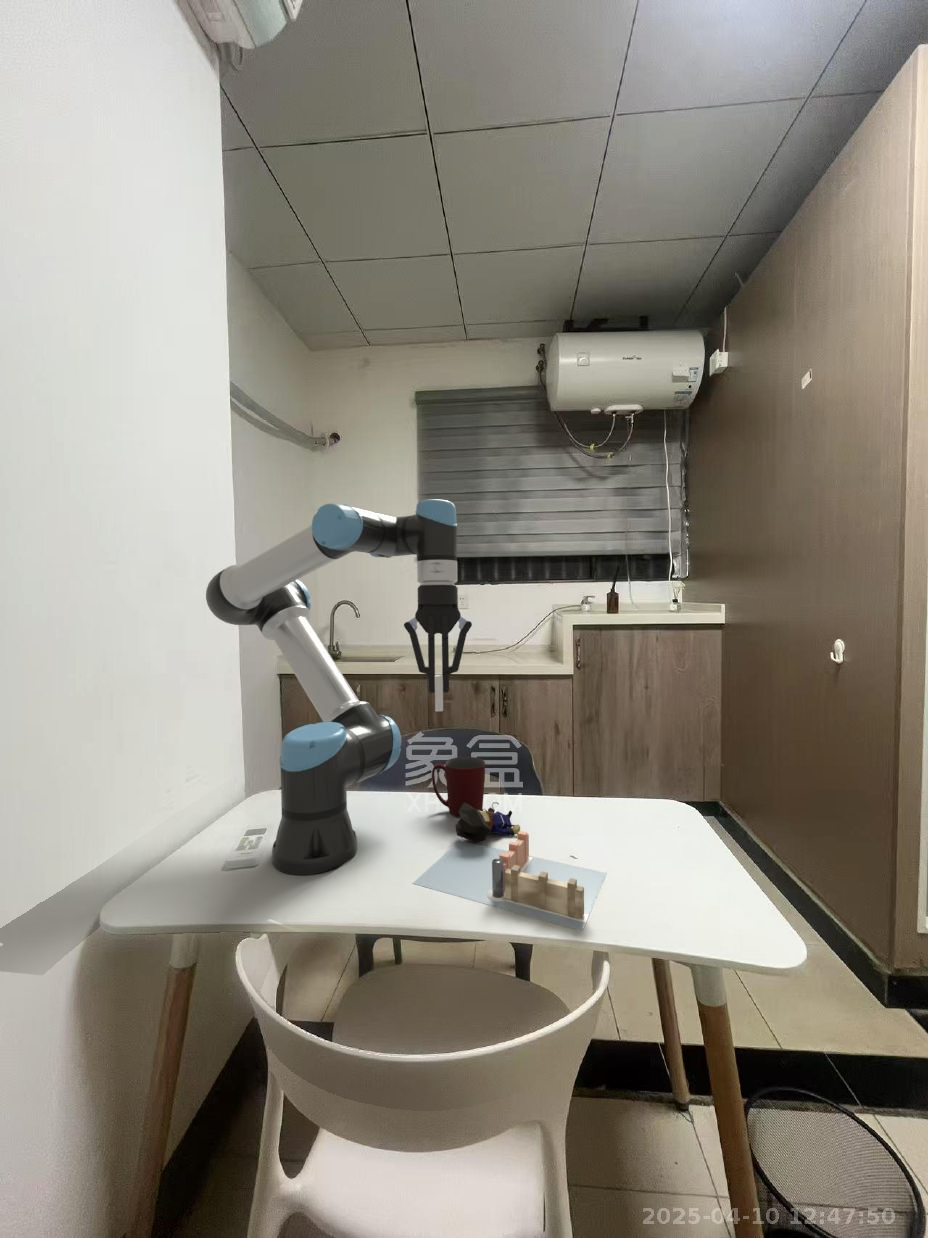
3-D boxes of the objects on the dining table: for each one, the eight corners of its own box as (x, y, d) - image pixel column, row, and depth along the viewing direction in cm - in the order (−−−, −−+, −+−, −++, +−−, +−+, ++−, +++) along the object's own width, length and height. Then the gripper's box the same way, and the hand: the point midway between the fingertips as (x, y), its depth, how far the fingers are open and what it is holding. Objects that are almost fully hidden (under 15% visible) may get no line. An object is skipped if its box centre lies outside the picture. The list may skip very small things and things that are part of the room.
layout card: (412, 885, 83) (412, 883, 83) (459, 841, 98) (459, 840, 98) (582, 933, 70) (582, 930, 70) (606, 874, 85) (606, 872, 85)
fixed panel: (504, 898, 78) (504, 867, 78) (508, 893, 79) (507, 863, 79) (581, 919, 72) (581, 886, 72) (584, 913, 74) (584, 881, 73)
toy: (531, 824, 101) (479, 823, 92) (517, 852, 102) (464, 854, 92) (503, 797, 108) (452, 793, 99) (490, 823, 109) (438, 822, 99)
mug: (428, 818, 109) (427, 767, 109) (436, 802, 118) (435, 755, 118) (483, 820, 107) (483, 769, 107) (487, 804, 116) (486, 757, 116)
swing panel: (505, 890, 80) (505, 860, 80) (497, 888, 81) (496, 858, 80) (529, 856, 91) (529, 830, 91) (521, 854, 91) (521, 828, 91)
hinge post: (490, 898, 79) (490, 863, 78) (495, 892, 80) (494, 857, 80) (501, 901, 78) (500, 865, 78) (505, 895, 79) (505, 860, 79)
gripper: (401, 583, 90) (403, 714, 90) (473, 583, 91) (475, 713, 91) (403, 585, 98) (405, 706, 98) (470, 585, 98) (472, 705, 99)
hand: (439, 709), depth 95 cm, fingers closed
